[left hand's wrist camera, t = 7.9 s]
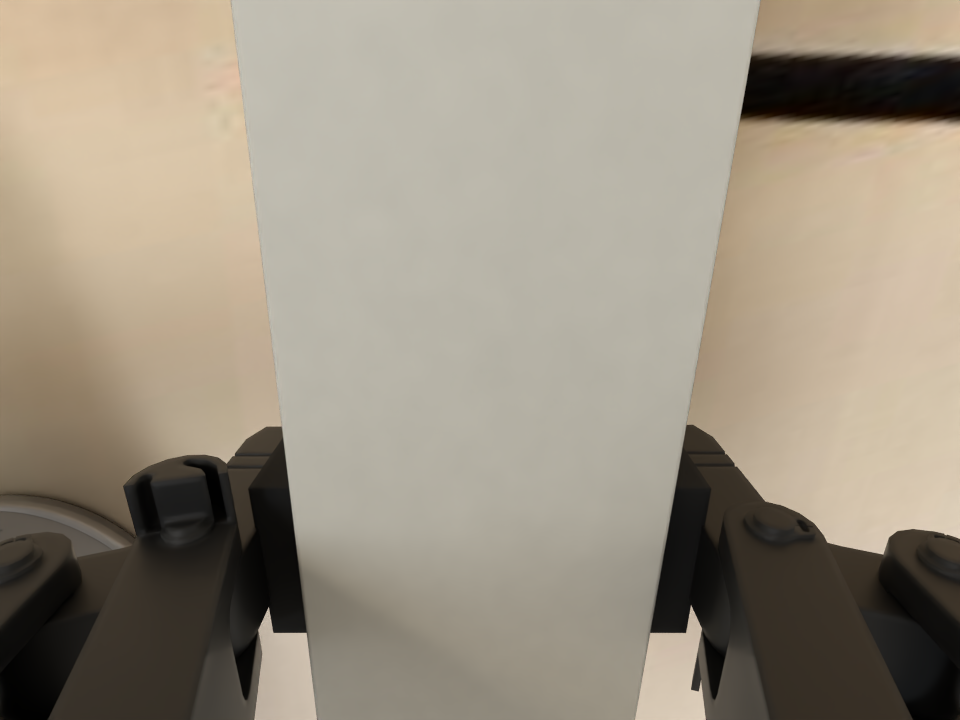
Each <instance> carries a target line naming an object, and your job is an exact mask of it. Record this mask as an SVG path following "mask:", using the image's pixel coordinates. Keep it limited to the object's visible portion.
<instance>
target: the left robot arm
mask: <svg viewBox="0 0 960 720" xmlns="http://www.w3.org/2000/svg"><path fill="white" fill-rule="evenodd" d="M123 487H124V491H125V495H126V498H127V502H128V506H129V509H130V513H131V517H132V521H133V524H134V528H135V532H136V535H137V536H136V538H134V537H132V536H131V535H130V534H129V533H127V532H126V531H124V530H123V529H121V528H120V527H118V526H117V525H115V524H113V523H112V522H110V521H108V520H106V519H105V518H103V517H101V516H99V515H96V514H94V513H92V512H90V511H88V510H85V509H83V508H80V507H77V506H74V505H71V504H68V503H65V502H61V501H57V500H53V499H48V498H43V497H37V496H26V495H1V496H0V720H254V717H255V708H256V700H257V692H258V684H259V676H260V667H261V659H262V650H261V643H260V637H259V632H258V629H259V627H260V625H261V622H262V620H263V618H264V616H265V614H266V612H267V609H268V607H269V610H270V615H271V621H272V627H273V632H274V633H307V631H306V622H305V614H304V606H303V597H302V589H301V581H300V572H299V564H298V556H297V547H296V539H295V531H294V523H293V514H292V506H291V498H290V489H289V481H288V473H287V464H286V456H285V448H284V439H283V431H282V427H265V428H264V429H262V430H261V431H259V432H257V433H256V434H254V435H253V436H251V437H249V438H248V439H246V441H245V442H244V443H243V444H242V446H241V447H240V448H239V449H238V451H237V452H236V453H235V456H233V457H232V458H231V459H230V461H229V462H228V463H227V464H226V463H225V462H223V461H222V460H221V459H219V458H217V457H213V456H208V455H187V456H182V457H177V458H172V459H167V460H165V461H162V462H159V463H157V464H154V465H151V466H149V467H147V468H145V469H144V470H142V471H140V472H139V473H137V474H135V475H134V476H132V477H131V478H130V480H129V481H128V482H127V483H126V484H125V485H124V486H123ZM691 605H692V608H693V610H694V612H695V614H696V616H697V618H698V621H699V623H700V625H701V627H702V632H701V637H700V642H699V648H698V653H697V658H696V663H695V669H694V674H693V680H692V687H691V690H695V691H699V687H700V682H702V691H703V699H704V707H705V715H706V720H960V539H958V538H956V537H953V536H950V535H944V534H943V533H938V532H933V531H924V530H916V529H911V530H903V531H897V532H896V533H895V534H893V535H892V536H891V537H889V539H888V543H887V546H886V549H885V552H884V555H882V554H877V553H872V552H867V551H862V550H857V549H852V548H847V547H842V546H838V545H834V544H830V543H827V541H826V539H825V537H824V535H823V534H822V533H821V532H820V530H819V529H818V528H817V526H816V525H815V524H814V523H813V522H811V521H810V520H808V519H807V518H805V517H804V516H803V515H801V514H800V513H797V512H795V511H793V510H791V509H788V508H786V507H784V506H781V505H777V504H773V503H769V502H765V501H764V500H763V498H762V497H761V496H760V495H759V493H758V492H757V491H756V490H755V488H754V487H753V486H752V485H751V483H750V482H749V481H748V480H747V479H746V477H745V476H744V475H743V474H742V472H741V471H740V470H739V469H738V467H735V466H734V462H733V461H732V460H731V459H730V457H729V456H728V455H727V454H725V451H724V450H723V449H722V448H721V446H720V445H719V444H718V443H717V441H716V440H715V439H714V438H713V437H712V436H710V435H709V434H707V433H705V432H704V431H702V430H700V429H699V428H697V427H696V426H694V425H686V430H685V436H684V442H683V447H682V453H681V459H680V465H679V470H678V476H677V482H676V487H675V493H674V499H673V505H672V510H671V516H670V522H669V527H668V533H667V539H666V545H665V550H664V556H663V562H662V568H661V573H660V579H659V585H658V590H657V596H656V602H655V608H654V613H653V619H652V625H651V630H650V633H686V630H687V624H688V618H689V613H690V607H691Z"/></svg>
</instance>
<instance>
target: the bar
mask: <svg viewBox="0 0 960 720" xmlns="http://www.w3.org/2000/svg"><path fill="white" fill-rule="evenodd" d="M760 1H761V0H231V7H232V15H233V24H234V32H235V40H236V49H237V57H238V65H239V74H240V82H241V90H242V99H243V107H244V115H245V123H246V132H247V140H248V148H249V157H250V165H251V173H252V182H253V190H254V198H255V207H256V215H257V223H258V232H259V240H260V248H261V257H262V265H263V273H264V281H265V290H266V298H267V306H268V315H269V323H270V331H271V340H272V348H273V356H274V365H275V373H276V381H277V390H278V398H279V406H280V414H281V423H282V431H283V439H284V448H285V456H286V464H287V473H288V481H289V489H290V498H291V506H292V514H293V523H294V531H295V539H296V547H297V556H298V564H299V572H300V581H301V589H302V597H303V606H304V614H305V622H306V631H307V639H308V647H309V656H310V664H311V672H312V680H313V689H314V697H315V705H316V714H317V720H635V716H636V711H637V705H638V699H639V693H640V688H641V682H642V676H643V671H644V665H645V659H646V653H647V648H648V642H649V636H650V630H651V625H652V619H653V613H654V608H655V602H656V596H657V590H658V585H659V579H660V573H661V568H662V562H663V556H664V550H665V545H666V539H667V533H668V527H669V522H670V516H671V510H672V505H673V499H674V493H675V487H676V482H677V476H678V470H679V465H680V459H681V453H682V447H683V442H684V436H685V430H686V424H687V419H688V413H689V407H690V402H691V396H692V390H693V384H694V379H695V373H696V367H697V362H698V356H699V350H700V344H701V339H702V333H703V327H704V321H705V316H706V310H707V304H708V299H709V293H710V287H711V281H712V276H713V270H714V264H715V258H716V253H717V247H718V241H719V236H720V230H721V224H722V218H723V213H724V207H725V201H726V196H727V190H728V184H729V178H730V173H731V167H732V161H733V155H734V150H735V144H736V138H737V133H738V127H739V121H740V115H741V110H742V104H743V98H744V93H745V87H746V81H747V75H748V70H749V64H750V58H751V52H752V47H753V41H754V35H755V30H756V24H757V18H758V12H759V7H760Z"/></svg>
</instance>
